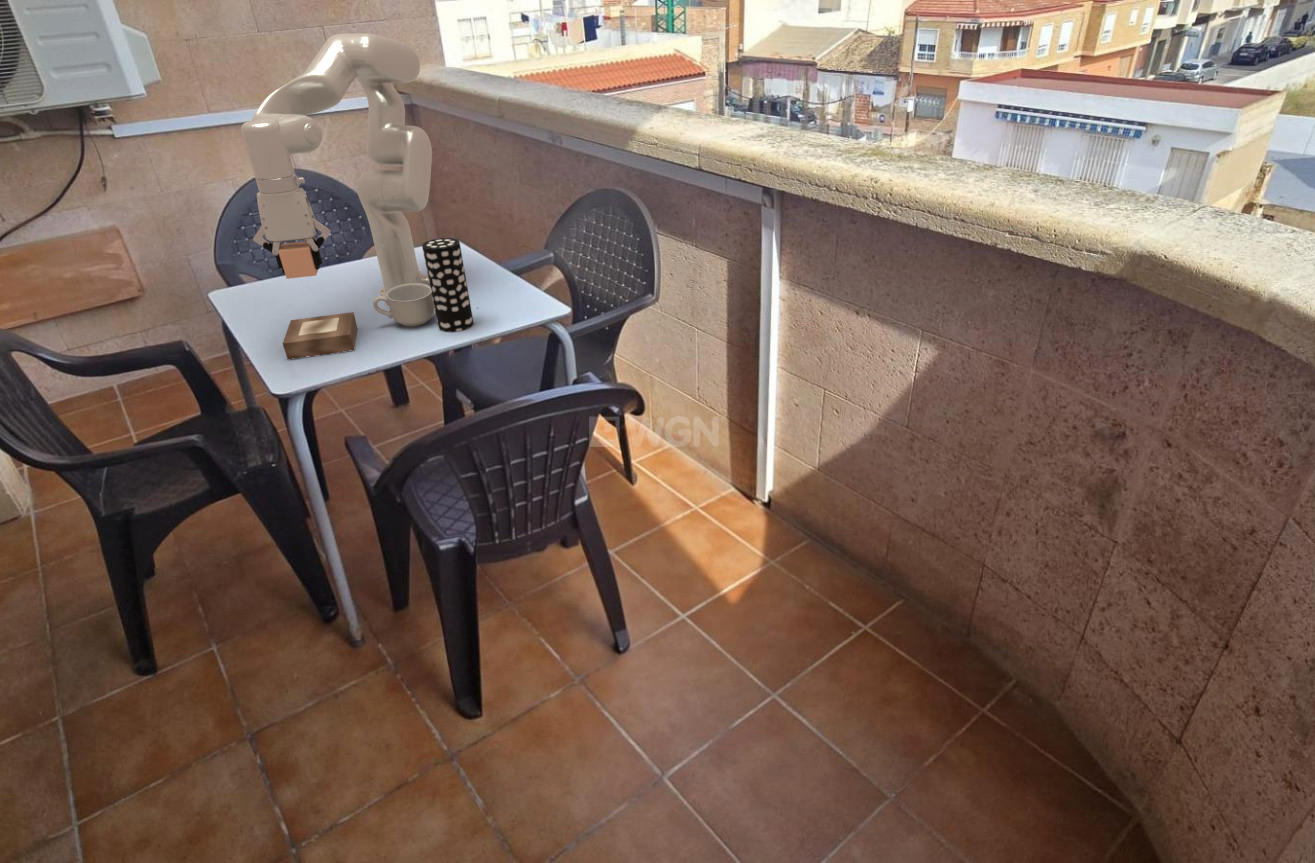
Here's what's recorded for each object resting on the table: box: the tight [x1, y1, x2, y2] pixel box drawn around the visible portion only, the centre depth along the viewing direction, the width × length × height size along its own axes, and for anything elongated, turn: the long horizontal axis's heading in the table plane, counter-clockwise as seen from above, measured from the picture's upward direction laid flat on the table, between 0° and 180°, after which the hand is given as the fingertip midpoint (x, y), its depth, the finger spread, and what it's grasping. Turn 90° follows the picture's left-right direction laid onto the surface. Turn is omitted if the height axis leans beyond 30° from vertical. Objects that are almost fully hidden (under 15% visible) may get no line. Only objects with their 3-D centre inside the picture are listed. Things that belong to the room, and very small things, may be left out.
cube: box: [278, 240, 319, 280], centre depth 159 cm, size 6×6×6 cm
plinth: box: [282, 311, 358, 360], centre depth 168 cm, size 14×14×4 cm
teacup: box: [372, 283, 435, 327], centre depth 176 cm, size 14×11×8 cm
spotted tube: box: [421, 237, 474, 333], centre depth 171 cm, size 8×8×20 cm
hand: (301, 268), depth 160 cm, fingers closed on cube, 6 cm apart
